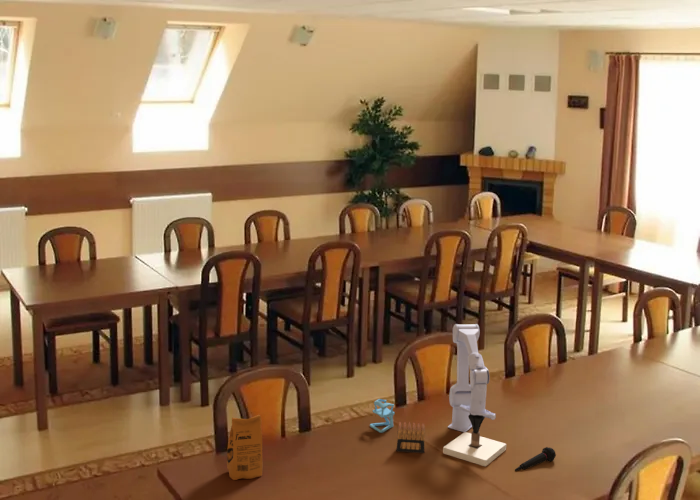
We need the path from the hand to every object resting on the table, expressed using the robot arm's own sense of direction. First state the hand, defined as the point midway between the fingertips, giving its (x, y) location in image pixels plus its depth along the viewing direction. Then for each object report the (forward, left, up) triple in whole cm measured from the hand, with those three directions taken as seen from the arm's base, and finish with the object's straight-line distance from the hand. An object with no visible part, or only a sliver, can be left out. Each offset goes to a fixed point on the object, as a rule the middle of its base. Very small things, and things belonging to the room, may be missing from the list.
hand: (476, 432), depth 344 cm
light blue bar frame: (+3, -40, -8) cm, 41 cm away
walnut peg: (0, 0, -8) cm, 8 cm away
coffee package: (+68, -58, -8) cm, 90 cm away
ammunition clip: (+15, -20, -8) cm, 26 cm away
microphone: (-4, +22, -8) cm, 24 cm away
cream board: (0, 0, -8) cm, 8 cm away
